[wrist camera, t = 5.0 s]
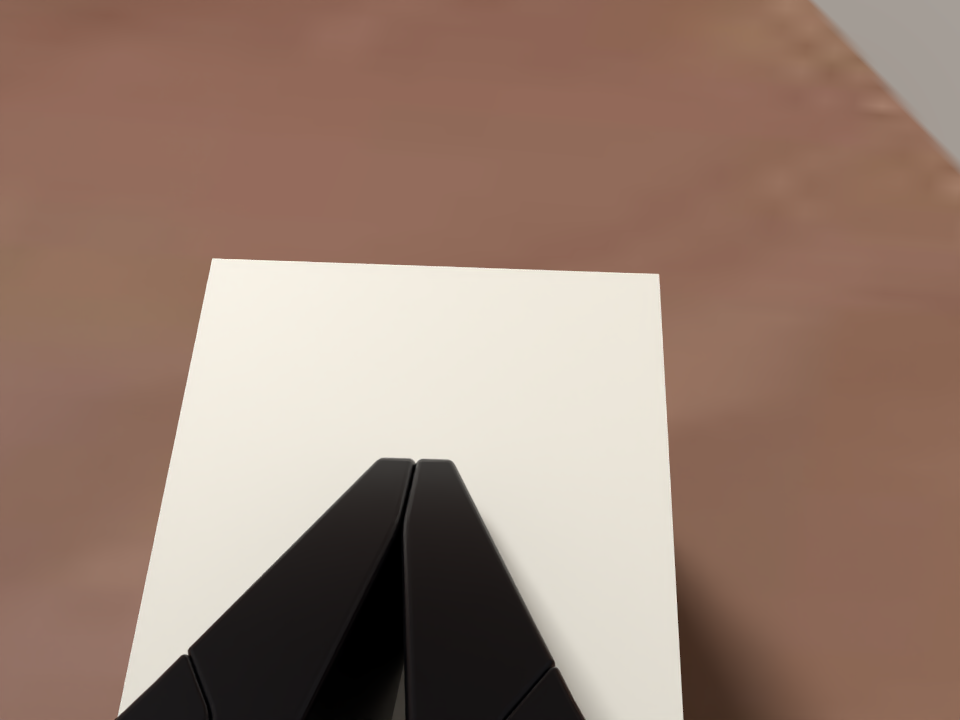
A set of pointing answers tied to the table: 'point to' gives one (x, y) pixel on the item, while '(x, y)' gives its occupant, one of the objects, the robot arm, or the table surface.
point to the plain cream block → (433, 449)
